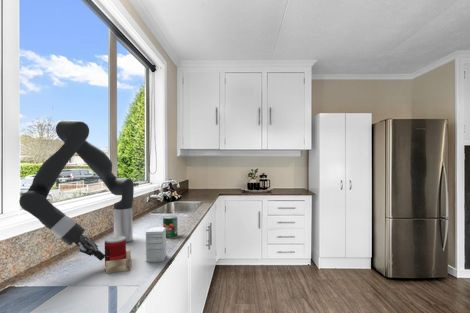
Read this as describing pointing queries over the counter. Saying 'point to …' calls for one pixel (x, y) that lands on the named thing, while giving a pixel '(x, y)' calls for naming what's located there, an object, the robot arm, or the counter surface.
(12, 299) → the counter surface
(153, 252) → the supplement box
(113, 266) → the wooden bracket
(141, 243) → the counter surface
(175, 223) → the canned tomato
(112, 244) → the canned food
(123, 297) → the counter surface
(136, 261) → the counter surface
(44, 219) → the robot arm
